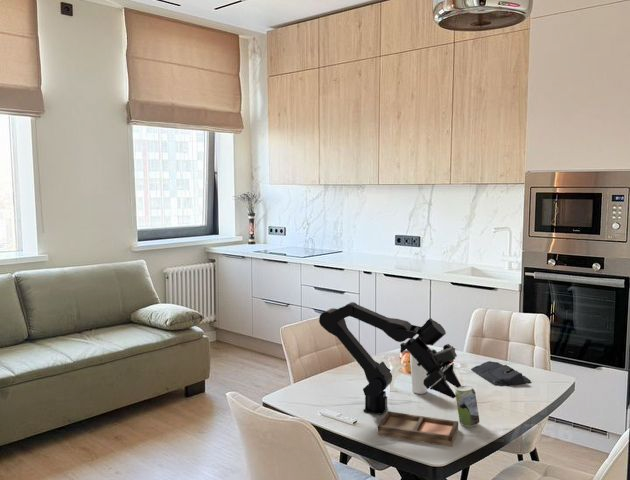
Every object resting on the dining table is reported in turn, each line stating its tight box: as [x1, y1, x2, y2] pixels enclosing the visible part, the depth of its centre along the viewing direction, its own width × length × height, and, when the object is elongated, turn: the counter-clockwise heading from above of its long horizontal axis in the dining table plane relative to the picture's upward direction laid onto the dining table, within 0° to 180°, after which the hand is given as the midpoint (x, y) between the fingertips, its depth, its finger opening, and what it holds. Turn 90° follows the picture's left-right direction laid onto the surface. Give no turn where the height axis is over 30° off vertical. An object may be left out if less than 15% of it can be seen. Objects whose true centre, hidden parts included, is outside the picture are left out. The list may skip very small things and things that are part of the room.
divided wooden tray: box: [377, 411, 459, 447], centre depth 175 cm, size 22×12×3 cm, turn 68°
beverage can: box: [454, 385, 480, 428], centre depth 180 cm, size 6×7×12 cm
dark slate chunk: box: [470, 360, 531, 388], centre depth 225 cm, size 15×22×5 cm
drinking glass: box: [409, 353, 428, 395], centre depth 208 cm, size 7×7×15 cm
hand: (457, 392), depth 180 cm, fingers open, 9 cm apart
